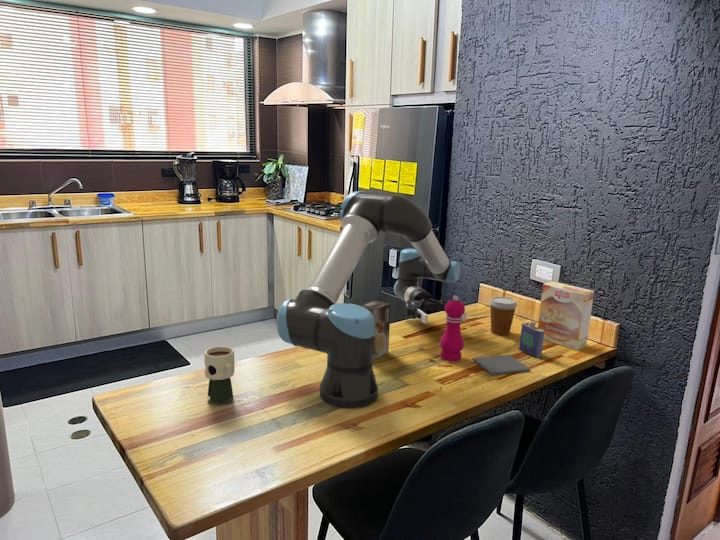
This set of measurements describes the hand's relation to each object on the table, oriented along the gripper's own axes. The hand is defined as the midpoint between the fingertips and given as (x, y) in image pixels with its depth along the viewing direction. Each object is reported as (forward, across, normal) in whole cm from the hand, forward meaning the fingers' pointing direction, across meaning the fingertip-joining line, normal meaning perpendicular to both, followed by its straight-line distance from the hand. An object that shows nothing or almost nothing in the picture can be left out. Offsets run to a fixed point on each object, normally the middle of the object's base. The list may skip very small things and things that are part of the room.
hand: (446, 318), depth 173 cm
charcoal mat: (+15, -11, -11) cm, 22 cm away
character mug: (+18, +71, -11) cm, 74 cm away
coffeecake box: (+2, -43, -11) cm, 45 cm away
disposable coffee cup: (-11, -28, -11) cm, 32 cm away
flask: (+8, -26, -11) cm, 30 cm away
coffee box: (-2, +24, -11) cm, 26 cm away
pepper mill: (+6, 0, -11) cm, 13 cm away
